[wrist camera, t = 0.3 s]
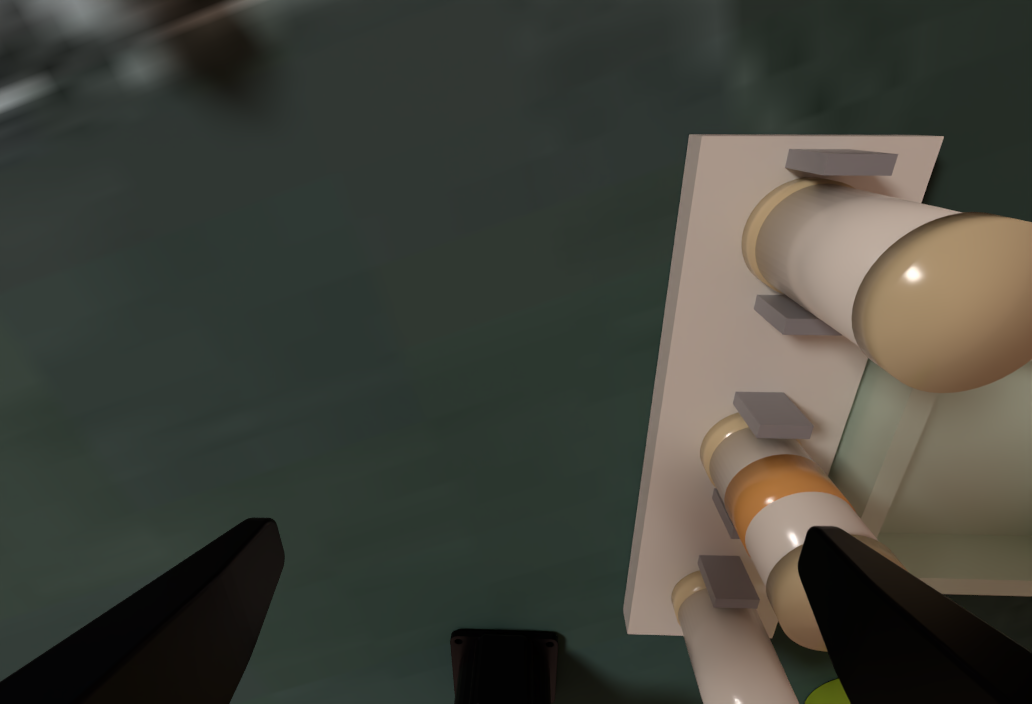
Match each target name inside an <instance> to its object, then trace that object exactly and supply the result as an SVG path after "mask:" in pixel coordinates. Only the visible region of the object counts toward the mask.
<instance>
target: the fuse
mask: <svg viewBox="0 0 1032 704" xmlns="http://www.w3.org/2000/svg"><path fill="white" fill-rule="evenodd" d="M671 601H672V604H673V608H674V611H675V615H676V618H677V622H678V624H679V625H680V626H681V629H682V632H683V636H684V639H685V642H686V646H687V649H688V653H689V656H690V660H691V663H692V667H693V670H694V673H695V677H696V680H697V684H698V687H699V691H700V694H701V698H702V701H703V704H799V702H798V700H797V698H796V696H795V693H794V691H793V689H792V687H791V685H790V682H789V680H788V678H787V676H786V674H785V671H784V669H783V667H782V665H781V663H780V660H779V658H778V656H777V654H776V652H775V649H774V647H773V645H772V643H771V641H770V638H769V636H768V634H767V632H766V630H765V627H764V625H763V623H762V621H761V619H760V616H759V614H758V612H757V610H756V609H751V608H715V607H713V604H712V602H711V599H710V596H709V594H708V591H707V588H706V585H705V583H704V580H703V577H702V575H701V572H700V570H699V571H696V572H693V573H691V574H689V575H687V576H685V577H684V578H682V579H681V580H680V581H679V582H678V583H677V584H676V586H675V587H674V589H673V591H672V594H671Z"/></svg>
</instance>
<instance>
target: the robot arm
mask: <svg viewBox="0 0 1032 704" xmlns="http://www.w3.org/2000/svg"><path fill="white" fill-rule="evenodd" d="M284 559H285V556H284V550H283V546H282V542H281V539H280V535H279V531H278V527H277V524H276V522H275V521H274V520H273V519H271V518H248V519H246V520H244V521H243V522H241V523H240V524H238V525H237V526H235V527H234V528H232V529H231V530H229V531H227V532H226V533H224V534H223V535H221V536H220V537H218V538H217V539H215V540H214V541H212V542H211V543H209V544H208V545H206V546H205V547H203V548H202V549H200V550H199V551H197V552H196V553H194V554H193V555H191V556H190V557H188V558H187V559H185V560H184V561H182V562H181V563H179V564H178V565H176V566H175V567H173V568H172V569H170V570H169V571H167V572H166V573H164V574H163V575H161V576H160V577H158V578H157V579H155V580H153V581H152V582H150V583H149V584H147V585H146V586H144V587H143V588H141V589H140V590H138V591H137V592H135V593H134V594H132V595H131V596H129V597H128V598H126V599H125V600H123V601H122V602H120V603H119V604H117V605H116V606H114V607H113V608H111V609H110V610H108V611H107V612H105V613H104V614H102V615H101V616H99V617H98V618H96V619H95V620H93V621H92V622H90V623H89V624H87V625H86V626H84V627H83V628H81V629H79V630H78V631H76V632H75V633H73V634H72V635H70V636H69V637H67V638H66V639H64V640H63V641H61V642H60V643H58V644H57V645H55V646H54V647H52V648H51V649H49V650H48V651H46V652H45V653H43V654H42V655H40V656H39V657H37V658H36V659H34V660H33V661H31V662H30V663H28V664H27V665H25V666H24V667H22V668H21V669H19V670H17V671H16V672H14V673H13V674H11V675H10V676H8V677H7V678H5V679H4V680H2V681H1V682H0V704H229V703H230V701H231V699H232V697H233V695H234V692H235V690H236V688H237V686H238V684H239V682H240V680H241V678H242V675H243V673H244V671H245V669H246V666H247V664H248V662H249V660H250V657H251V655H252V652H253V650H254V647H255V644H256V642H257V639H258V636H259V633H260V631H261V628H262V625H263V622H264V619H265V617H266V614H267V611H268V608H269V606H270V603H271V600H272V597H273V594H274V592H275V589H276V586H277V583H278V580H279V578H280V575H281V572H282V569H283V566H284ZM798 573H799V577H800V580H801V583H802V585H803V588H804V591H805V593H806V596H807V598H808V601H809V604H810V606H811V609H812V612H813V614H814V617H815V620H816V622H817V625H818V628H819V630H820V633H821V635H822V638H823V641H824V643H825V646H826V649H827V651H828V654H829V657H830V659H831V661H832V664H833V666H834V669H835V671H836V674H837V676H838V678H839V680H840V682H841V684H842V686H843V689H844V691H845V693H846V695H847V697H848V699H849V701H850V703H851V704H1032V652H1031V651H1029V650H1028V649H1026V648H1025V647H1023V646H1022V645H1020V644H1018V643H1017V642H1015V641H1014V640H1012V639H1011V638H1009V637H1008V636H1006V635H1005V634H1003V633H1002V632H1000V631H998V630H997V629H995V628H994V627H992V626H991V625H989V624H988V623H986V622H985V621H983V620H981V619H980V618H978V617H977V616H975V615H974V614H972V613H971V612H969V611H968V610H966V609H965V608H963V607H961V606H960V605H958V604H957V603H955V602H954V601H952V600H951V599H949V598H948V597H946V596H944V595H943V594H941V593H940V592H938V591H937V590H935V589H934V588H932V587H931V586H929V585H928V584H926V583H924V582H923V581H921V580H920V579H918V578H917V577H915V576H914V575H912V574H911V573H909V572H907V571H906V570H904V569H903V568H901V567H900V566H898V565H897V564H895V563H894V562H892V561H891V560H889V559H887V558H886V557H884V556H883V555H881V554H880V553H878V552H877V551H875V550H874V549H872V548H870V547H869V546H867V545H866V544H864V543H863V542H861V541H860V540H858V539H857V538H855V537H854V536H852V535H850V534H849V533H847V532H846V531H844V530H843V529H841V528H839V527H836V526H812V527H810V528H809V529H808V531H807V533H806V537H805V540H804V543H803V546H802V550H801V553H800V556H799V560H798ZM450 644H451V656H452V667H453V679H454V691H455V702H454V704H551V703H553V702H554V701H555V689H556V672H557V655H558V637H557V636H556V635H555V634H553V633H540V632H507V631H473V630H456V631H453V632H452V634H451V640H450Z"/></svg>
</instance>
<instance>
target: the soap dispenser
mask: <svg viewBox="0 0 1032 704" xmlns="http://www.w3.org/2000/svg"><path fill="white" fill-rule="evenodd" d="M805 704H851V703H850V701H849V699H848V697H847V695H846V693H845V691H844V689H843V686H842V684H841V682H840V680H839V679H835V680H833V681H830V682H828V683H825V684H823V685H822V686H820V687H818V688H817V689H816V690H814V691H813V692H812V693H811V694H810V695H809V696H808V698H807V699H806V701H805Z"/></svg>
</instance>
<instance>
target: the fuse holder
mask: <svg viewBox="0 0 1032 704" xmlns="http://www.w3.org/2000/svg"><path fill="white" fill-rule="evenodd" d="M943 138H944V136H924V135H727V134H689V140H688V147H687V154H686V161H685V169H684V176H683V183H682V190H681V197H680V205H679V212H678V219H677V226H676V233H675V241H674V248H673V255H672V262H671V269H670V276H669V284H668V291H667V298H666V305H665V312H664V320H663V327H662V334H661V341H660V348H659V356H658V363H657V370H656V377H655V384H654V391H653V399H652V406H651V413H650V420H649V427H648V435H647V442H646V449H645V456H644V463H643V471H642V478H641V485H640V492H639V499H638V507H637V514H636V521H635V528H634V535H633V542H632V550H631V557H630V564H629V571H628V578H627V586H626V593H625V600H624V607H623V612H624V617H625V623H626V628H627V634H645V635H678V636H683V632H682V629H681V626H680V625H679V624H678V622H677V618H676V615H675V611H674V608H673V604H672V601H671V594H672V591H673V589H674V587H675V586H676V584H677V583H678V582H679V581H680V580H681V579H682V578H684V577H685V576H687V575H689V574H691V573H693V572H696V571H699V570H700V572H701V575H702V577H703V580H704V583H705V585H706V588H707V591H708V594H709V596H710V599H711V602H712V604H713V607H715V608H751V609H756V610H757V612H758V614H759V616H760V619H761V621H762V623H763V625H764V627H765V630H766V632H767V634H768V636H769V638H772V637H773V634H774V632H775V629H776V626H777V623H778V619H777V617H776V615H775V613H774V611H773V609H772V607H771V604H770V602H769V600H768V598H767V594H766V587H765V585H764V583H763V581H762V579H761V577H760V575H759V573H758V571H757V569H756V567H755V565H754V563H753V561H752V559H751V558H750V557H749V555H748V554H747V552H746V550H745V548H744V546H743V544H742V542H741V540H740V538H739V536H738V534H737V532H736V530H735V528H734V525H733V523H732V521H731V519H730V517H729V515H728V513H727V511H726V508H725V504H724V502H723V500H722V498H721V496H720V494H719V492H718V490H717V488H715V486H714V485H713V484H712V483H711V481H710V479H709V477H708V475H707V473H706V471H705V469H704V467H703V465H702V462H701V459H700V447H701V444H702V441H703V439H704V437H705V435H706V434H707V432H708V431H709V430H710V429H711V428H712V427H713V426H714V425H715V424H716V423H718V422H719V421H720V420H722V419H724V418H725V417H727V416H729V415H732V414H735V413H738V412H739V414H740V415H741V416H742V418H743V419H744V421H745V422H746V424H747V425H748V426H749V428H750V429H751V431H752V432H753V434H754V435H755V437H756V438H776V439H799V440H800V442H801V444H802V447H803V449H804V450H805V451H806V452H807V454H808V455H809V456H810V457H811V458H812V460H813V461H814V462H815V463H816V464H818V465H819V466H820V467H821V469H822V470H823V471H824V472H825V473H826V475H827V476H828V474H829V471H830V468H831V465H832V462H833V459H834V456H835V453H836V451H837V448H838V445H839V442H840V439H841V436H842V433H843V430H844V427H845V424H846V421H847V418H848V415H849V413H850V410H851V407H852V404H853V401H854V398H855V395H856V392H857V389H858V386H859V383H860V380H861V378H862V375H863V372H864V369H865V366H866V363H867V360H868V357H867V356H866V355H865V354H864V353H863V352H862V351H861V349H860V348H859V346H857V345H856V344H854V343H853V342H852V341H850V340H849V339H847V338H846V337H844V336H843V335H842V334H840V333H839V332H837V331H836V330H835V329H833V328H832V327H830V326H829V325H827V324H826V323H825V322H823V321H822V320H820V319H819V318H818V317H816V316H815V315H813V314H812V313H810V312H809V311H808V310H806V309H805V308H803V307H802V306H800V305H799V304H798V303H796V302H795V301H793V300H792V299H791V298H789V297H788V296H786V295H785V294H782V293H779V292H777V291H775V290H773V289H771V288H770V287H768V286H767V285H766V284H764V283H763V282H762V281H760V280H759V279H757V278H756V277H755V276H754V275H753V274H752V273H751V272H750V270H749V269H748V268H747V266H746V264H745V262H744V258H743V255H742V234H743V230H744V227H745V224H746V222H747V219H748V218H749V216H750V214H751V212H752V211H753V209H754V208H755V206H756V205H757V204H758V203H759V202H760V201H761V200H762V199H763V198H764V197H765V196H766V195H767V194H768V193H770V192H771V191H772V190H774V189H775V188H777V187H779V186H780V185H782V184H784V183H787V182H789V181H792V180H795V179H799V178H804V177H819V178H824V179H829V180H834V181H838V182H843V183H845V184H848V185H850V186H852V187H854V188H855V189H859V190H863V191H868V192H872V193H877V194H881V195H886V196H890V197H895V198H899V199H904V200H908V201H912V202H917V203H921V202H922V199H923V196H924V194H925V191H926V188H927V185H928V182H929V179H930V176H931V173H932V170H933V167H934V164H935V161H936V159H937V156H938V153H939V150H940V147H941V144H942V141H943Z"/></svg>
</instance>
